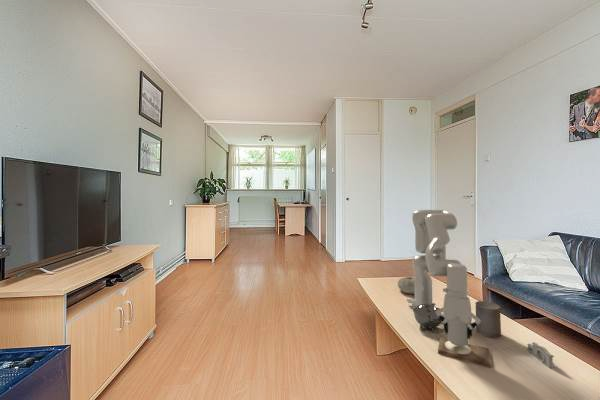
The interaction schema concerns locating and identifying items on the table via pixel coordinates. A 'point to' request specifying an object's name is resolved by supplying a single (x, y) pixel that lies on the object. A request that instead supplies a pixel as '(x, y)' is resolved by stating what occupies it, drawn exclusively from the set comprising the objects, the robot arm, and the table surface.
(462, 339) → the can
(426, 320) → the piggy bank
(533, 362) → the table surface
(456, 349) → the board
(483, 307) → the pillar candle
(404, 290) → the decorative shell
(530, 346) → the lattice window wall
